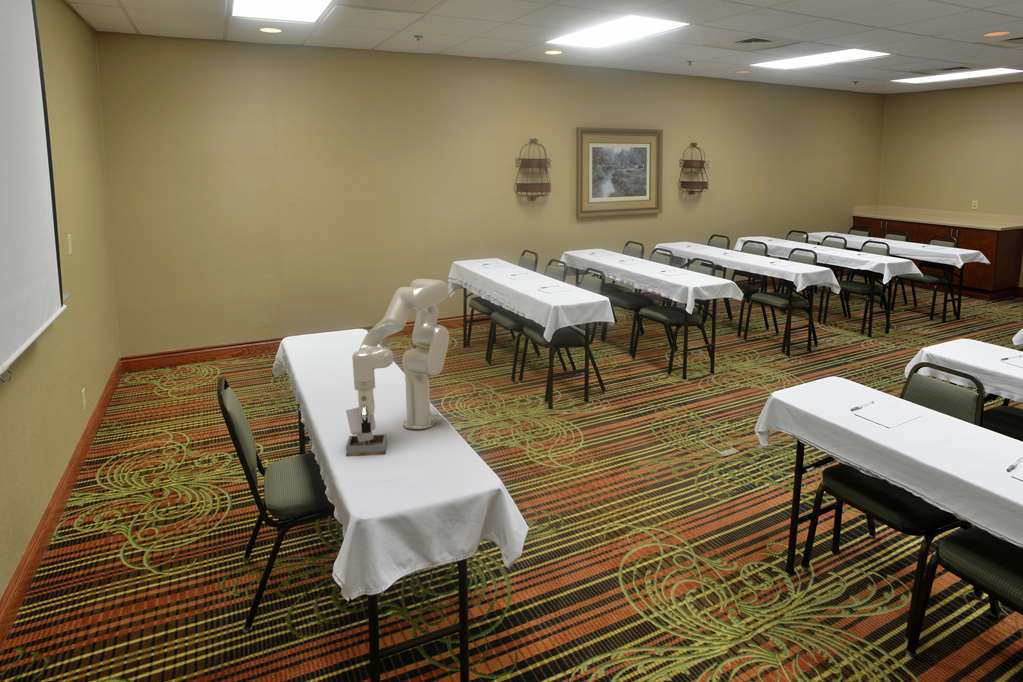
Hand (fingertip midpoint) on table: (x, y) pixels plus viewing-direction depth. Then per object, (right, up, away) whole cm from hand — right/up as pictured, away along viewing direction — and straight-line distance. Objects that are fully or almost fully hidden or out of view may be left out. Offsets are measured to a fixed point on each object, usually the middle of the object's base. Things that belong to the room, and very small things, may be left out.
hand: (367, 428), depth 247 cm
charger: (0, -7, 0) cm, 7 cm away
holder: (0, -8, +1) cm, 8 cm away
